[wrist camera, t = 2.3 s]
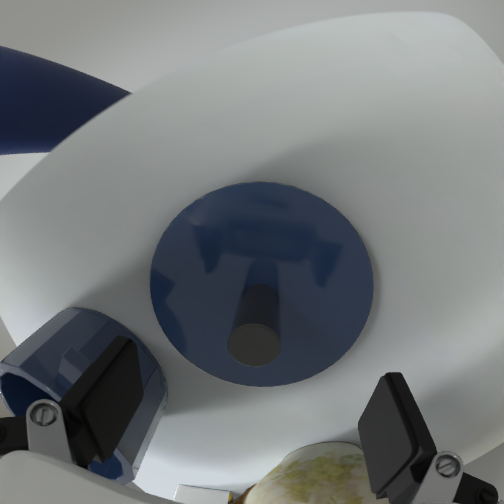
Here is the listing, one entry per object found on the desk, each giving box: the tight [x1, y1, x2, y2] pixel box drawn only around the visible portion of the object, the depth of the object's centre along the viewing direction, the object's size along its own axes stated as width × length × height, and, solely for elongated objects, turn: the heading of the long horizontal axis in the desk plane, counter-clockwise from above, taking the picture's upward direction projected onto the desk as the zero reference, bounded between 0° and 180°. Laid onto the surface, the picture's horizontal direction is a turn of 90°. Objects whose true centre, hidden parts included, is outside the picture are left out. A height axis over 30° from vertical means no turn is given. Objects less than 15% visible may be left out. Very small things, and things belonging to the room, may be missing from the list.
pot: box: [0, 307, 167, 485], centre depth 17 cm, size 13×18×8 cm
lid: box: [150, 181, 373, 387], centre depth 15 cm, size 14×14×6 cm
